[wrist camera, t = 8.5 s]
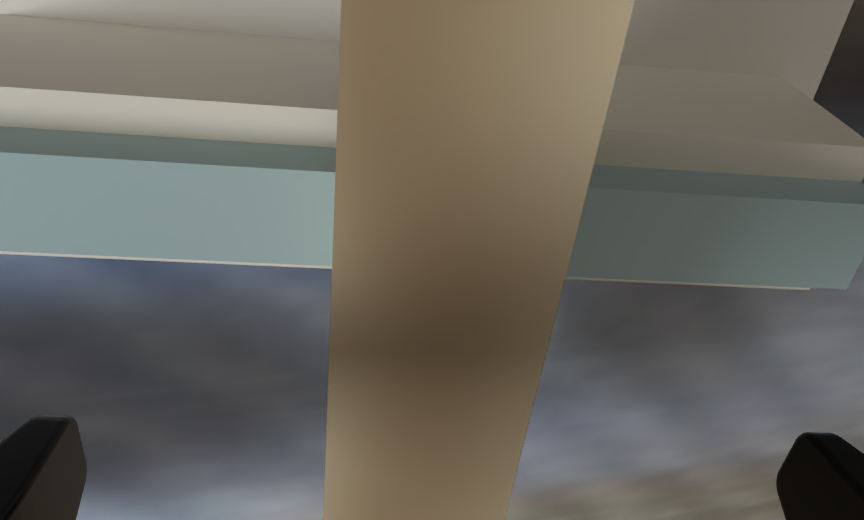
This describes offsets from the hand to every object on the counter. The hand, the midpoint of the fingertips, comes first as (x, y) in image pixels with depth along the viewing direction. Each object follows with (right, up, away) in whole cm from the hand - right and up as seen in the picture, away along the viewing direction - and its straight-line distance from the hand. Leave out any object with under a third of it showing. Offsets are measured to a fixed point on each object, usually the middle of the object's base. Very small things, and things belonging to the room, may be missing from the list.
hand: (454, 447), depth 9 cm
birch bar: (0, +3, +4) cm, 5 cm away
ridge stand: (-1, +6, +9) cm, 11 cm away
